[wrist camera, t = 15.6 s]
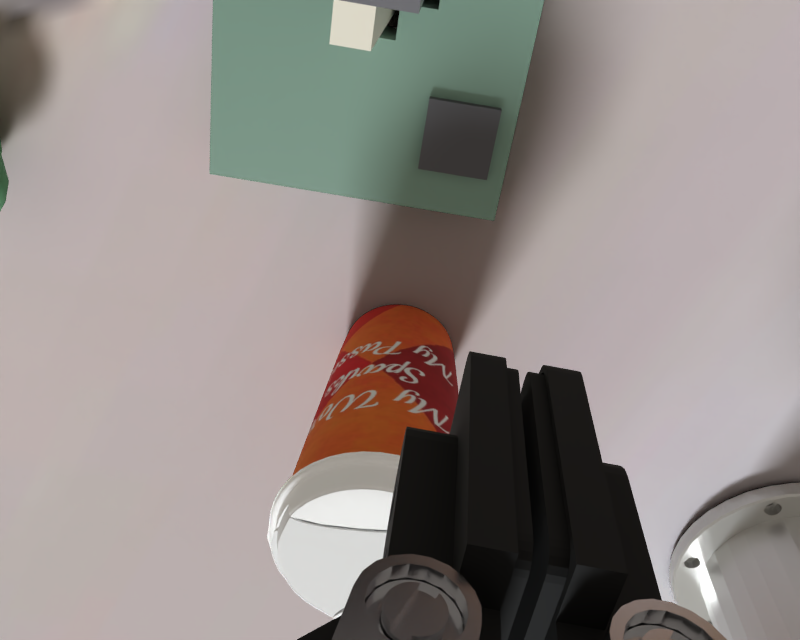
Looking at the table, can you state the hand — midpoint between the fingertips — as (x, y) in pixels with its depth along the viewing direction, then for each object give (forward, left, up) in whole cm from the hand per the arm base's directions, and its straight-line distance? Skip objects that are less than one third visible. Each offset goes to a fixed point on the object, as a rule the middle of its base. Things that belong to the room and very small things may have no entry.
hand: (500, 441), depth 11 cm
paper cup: (+1, +13, -23) cm, 27 cm away
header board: (+4, -4, -23) cm, 24 cm away
